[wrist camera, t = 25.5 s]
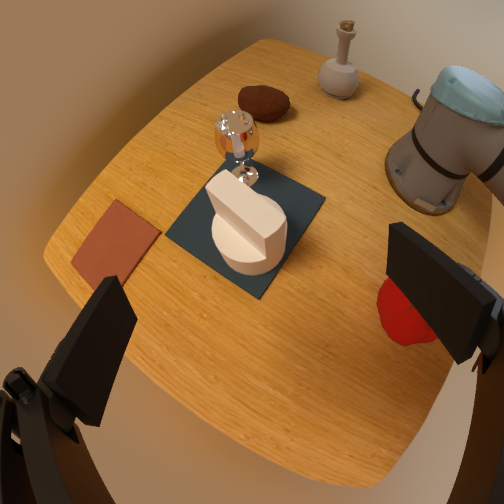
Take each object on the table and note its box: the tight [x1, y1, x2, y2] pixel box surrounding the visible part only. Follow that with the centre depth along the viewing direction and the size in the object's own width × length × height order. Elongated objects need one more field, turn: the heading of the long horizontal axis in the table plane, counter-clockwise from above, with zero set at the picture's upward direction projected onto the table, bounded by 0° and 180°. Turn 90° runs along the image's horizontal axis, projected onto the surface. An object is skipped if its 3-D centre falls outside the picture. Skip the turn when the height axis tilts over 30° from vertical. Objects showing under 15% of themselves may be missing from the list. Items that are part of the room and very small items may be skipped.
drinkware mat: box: [165, 159, 325, 299], centre depth 39 cm, size 18×17×1 cm
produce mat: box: [70, 199, 161, 290], centre depth 40 cm, size 14×12×1 cm
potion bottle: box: [318, 21, 359, 99], centre depth 40 cm, size 9×9×18 cm
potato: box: [238, 85, 290, 121], centre depth 43 cm, size 7×9×6 cm
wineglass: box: [215, 110, 260, 187], centre depth 36 cm, size 6×6×12 cm
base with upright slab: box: [205, 169, 287, 276], centre depth 32 cm, size 9×9×12 cm
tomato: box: [377, 278, 437, 346], centre depth 29 cm, size 11×12×9 cm
